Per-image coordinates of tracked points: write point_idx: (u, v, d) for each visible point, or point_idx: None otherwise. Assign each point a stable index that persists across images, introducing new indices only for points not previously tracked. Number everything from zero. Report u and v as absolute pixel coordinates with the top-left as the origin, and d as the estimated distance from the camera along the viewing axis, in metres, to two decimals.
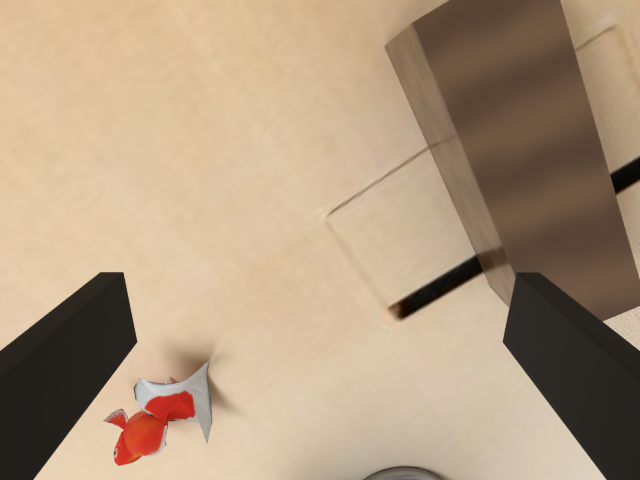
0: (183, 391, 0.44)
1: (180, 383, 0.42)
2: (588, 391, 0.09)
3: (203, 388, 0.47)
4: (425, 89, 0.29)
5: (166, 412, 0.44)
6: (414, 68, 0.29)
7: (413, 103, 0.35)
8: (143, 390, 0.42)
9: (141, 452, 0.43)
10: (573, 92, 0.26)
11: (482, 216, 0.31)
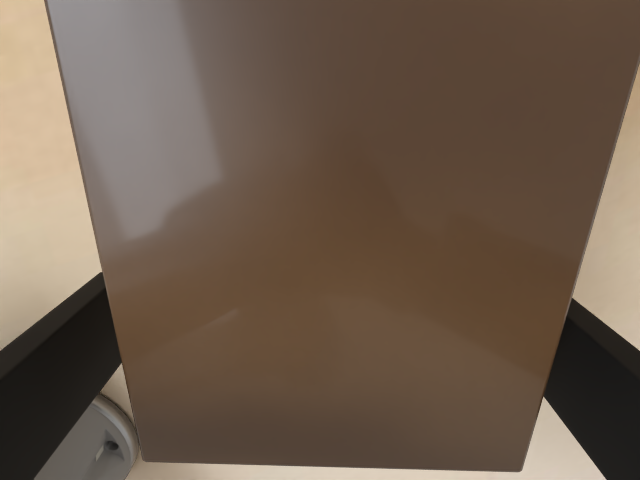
0: None
1: None
2: (589, 391, 0.09)
3: None
4: None
5: None
6: None
7: None
8: None
9: None
10: None
11: None
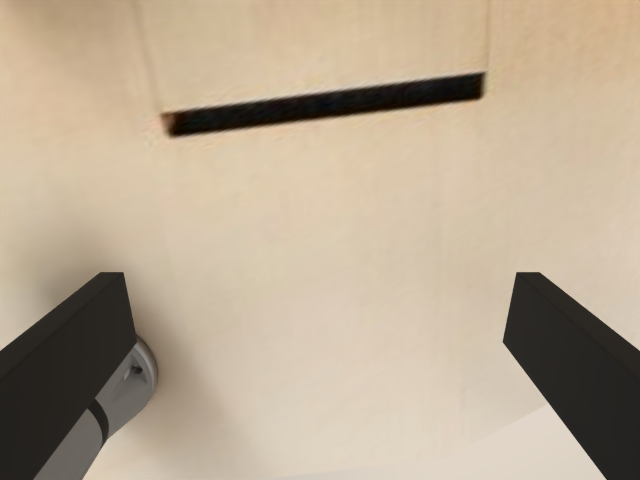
0: None
1: None
2: (588, 391, 0.09)
3: None
4: None
5: None
6: None
7: None
8: None
9: None
10: None
11: None
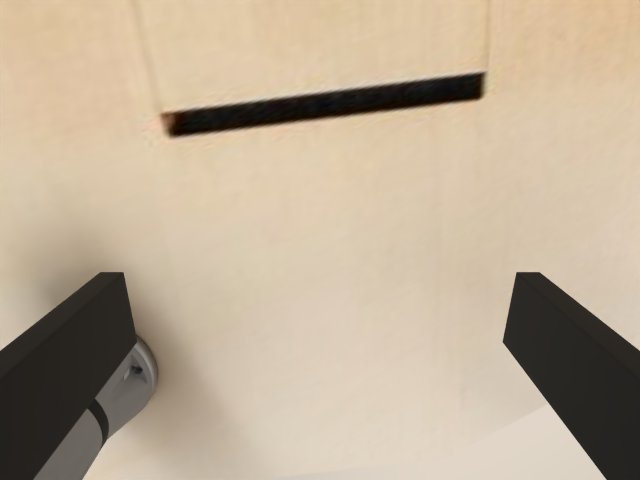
0: None
1: None
2: (588, 390, 0.09)
3: None
4: None
5: None
6: None
7: None
8: None
9: None
10: None
11: None
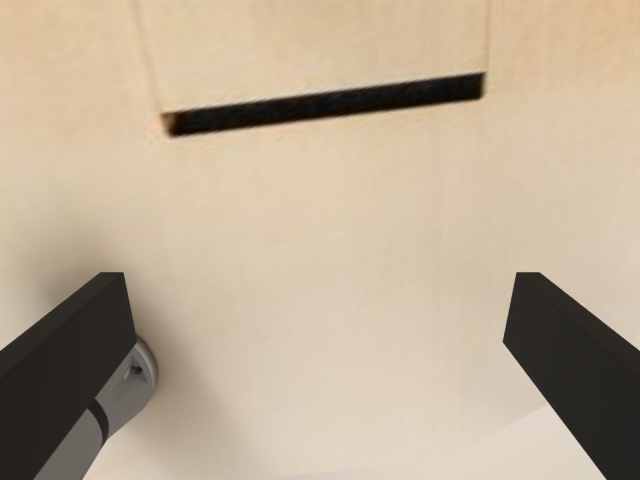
0: None
1: None
2: (588, 390, 0.09)
3: None
4: None
5: None
6: None
7: None
8: None
9: None
10: None
11: None
